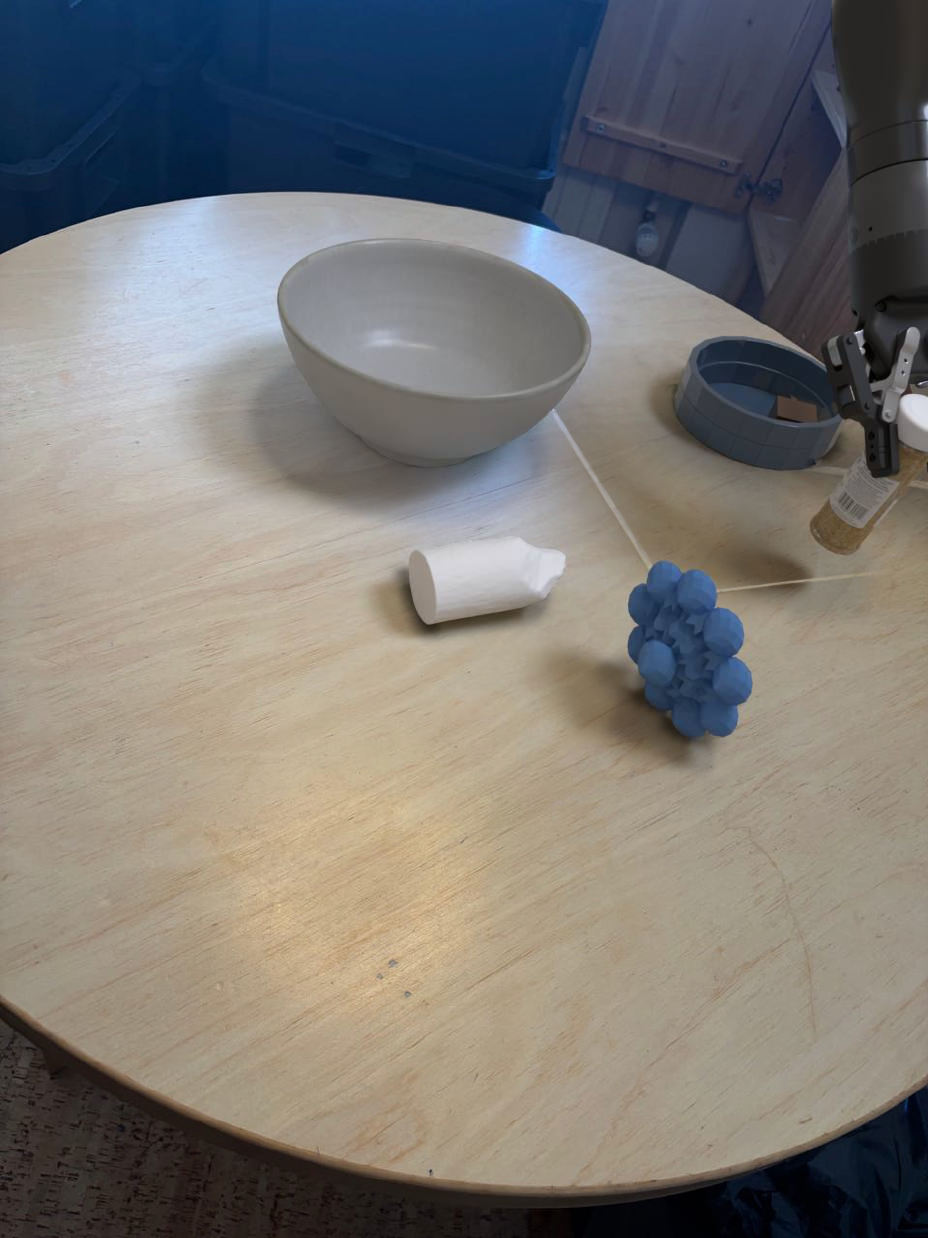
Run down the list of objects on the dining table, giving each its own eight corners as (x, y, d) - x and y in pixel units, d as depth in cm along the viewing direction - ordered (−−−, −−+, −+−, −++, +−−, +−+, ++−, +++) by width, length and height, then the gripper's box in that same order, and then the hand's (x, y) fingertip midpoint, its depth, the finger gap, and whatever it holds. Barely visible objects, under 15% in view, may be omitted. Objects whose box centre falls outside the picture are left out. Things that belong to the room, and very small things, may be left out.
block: (800, 438, 98) (816, 405, 95) (800, 459, 95) (817, 426, 92) (762, 428, 98) (777, 394, 95) (761, 448, 95) (777, 415, 92)
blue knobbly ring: (565, 669, 70) (608, 548, 62) (633, 642, 73) (683, 523, 65) (667, 788, 64) (730, 671, 56) (737, 752, 67) (806, 636, 59)
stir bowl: (808, 394, 106) (829, 350, 102) (845, 485, 94) (871, 438, 90) (664, 370, 104) (680, 324, 100) (682, 459, 92) (701, 411, 89)
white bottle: (572, 616, 74) (591, 563, 70) (429, 640, 70) (440, 585, 66) (542, 565, 78) (557, 512, 74) (404, 585, 74) (412, 530, 70)
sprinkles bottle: (868, 552, 79) (971, 429, 69) (828, 561, 77) (929, 436, 67) (835, 512, 81) (930, 388, 71) (796, 520, 79) (888, 393, 69)
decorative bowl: (235, 368, 91) (233, 245, 83) (478, 339, 102) (499, 229, 94) (340, 546, 76) (352, 418, 67) (613, 490, 87) (652, 374, 78)
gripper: (857, 219, 64) (870, 472, 65) (1022, 228, 68) (1032, 466, 69) (788, 257, 71) (800, 485, 72) (941, 263, 76) (951, 478, 76)
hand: (914, 474), depth 71 cm, fingers closed on sprinkles bottle, 4 cm apart
